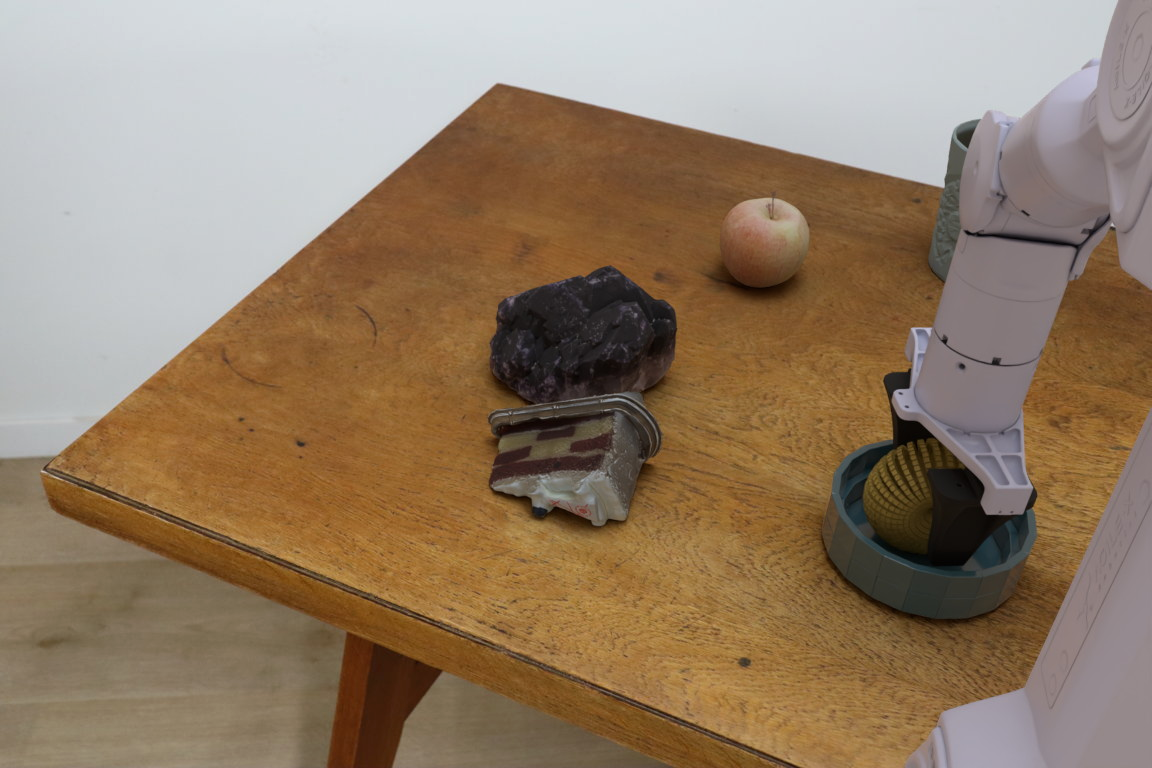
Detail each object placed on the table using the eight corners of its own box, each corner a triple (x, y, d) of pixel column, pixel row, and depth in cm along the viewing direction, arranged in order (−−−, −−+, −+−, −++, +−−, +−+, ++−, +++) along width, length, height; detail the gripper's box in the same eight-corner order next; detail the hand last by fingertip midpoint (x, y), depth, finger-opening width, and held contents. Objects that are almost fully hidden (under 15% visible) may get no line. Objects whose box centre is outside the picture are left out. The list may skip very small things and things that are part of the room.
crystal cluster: (487, 325, 88) (476, 219, 81) (656, 309, 89) (658, 203, 82) (496, 443, 78) (483, 334, 71) (686, 425, 79) (691, 315, 72)
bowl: (1048, 623, 65) (1070, 575, 62) (847, 626, 64) (861, 578, 61) (977, 484, 74) (993, 438, 72) (801, 485, 73) (812, 439, 71)
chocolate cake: (446, 504, 71) (570, 453, 63) (477, 416, 75) (596, 357, 67) (555, 572, 75) (683, 533, 67) (578, 485, 79) (702, 438, 71)
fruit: (722, 249, 98) (734, 166, 93) (805, 264, 96) (822, 181, 92) (706, 293, 92) (718, 207, 87) (795, 309, 91) (812, 223, 86)
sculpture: (973, 526, 70) (1008, 429, 65) (988, 573, 67) (1027, 474, 62) (846, 517, 70) (872, 419, 66) (856, 563, 67) (884, 464, 62)
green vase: (924, 291, 94) (960, 161, 87) (913, 233, 102) (946, 110, 95) (1047, 306, 93) (1094, 175, 86) (1027, 246, 101) (1068, 123, 94)
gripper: (877, 264, 65) (834, 442, 73) (960, 420, 53) (898, 611, 61) (994, 265, 65) (938, 442, 73) (1101, 420, 54) (1021, 609, 62)
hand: (927, 519), depth 67 cm, fingers open, 6 cm apart
